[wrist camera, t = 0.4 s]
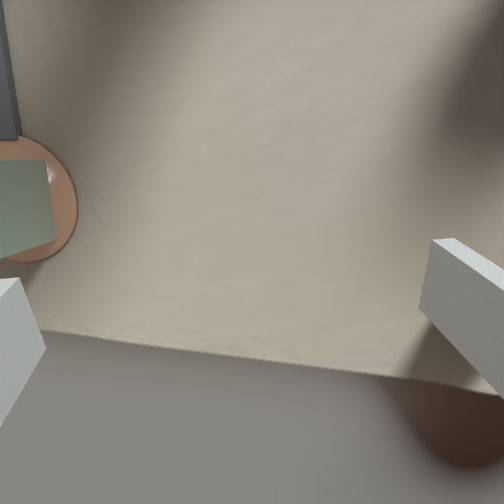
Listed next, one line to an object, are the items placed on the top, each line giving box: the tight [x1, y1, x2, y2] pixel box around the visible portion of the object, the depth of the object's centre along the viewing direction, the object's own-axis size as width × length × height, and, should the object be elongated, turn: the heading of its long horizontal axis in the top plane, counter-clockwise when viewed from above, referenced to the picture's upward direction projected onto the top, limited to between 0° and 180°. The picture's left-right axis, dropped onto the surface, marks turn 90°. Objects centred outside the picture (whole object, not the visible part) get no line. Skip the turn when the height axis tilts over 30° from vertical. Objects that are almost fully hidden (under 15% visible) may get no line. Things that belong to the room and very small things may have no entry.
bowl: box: [0, 136, 78, 262], centre depth 35 cm, size 13×13×4 cm
